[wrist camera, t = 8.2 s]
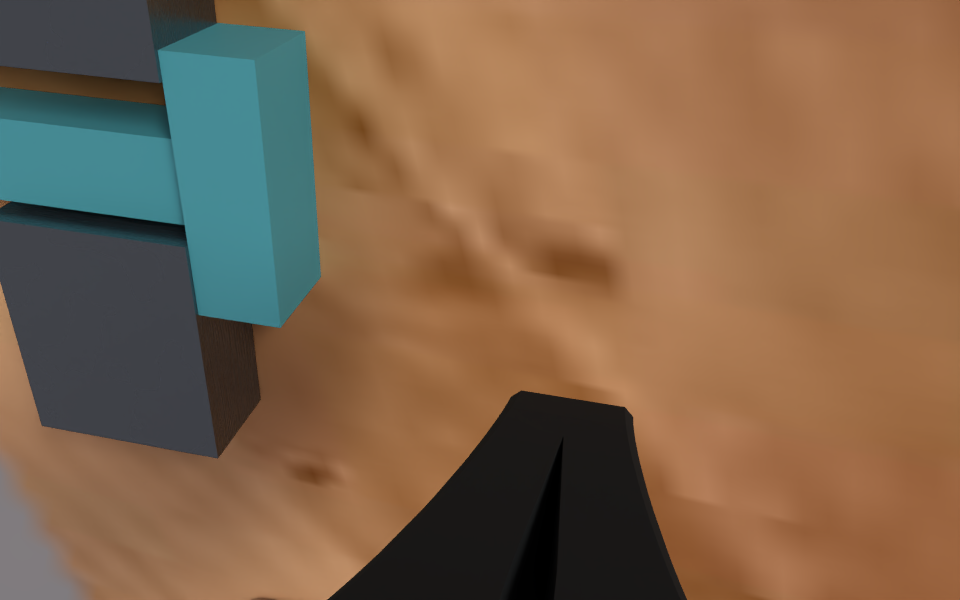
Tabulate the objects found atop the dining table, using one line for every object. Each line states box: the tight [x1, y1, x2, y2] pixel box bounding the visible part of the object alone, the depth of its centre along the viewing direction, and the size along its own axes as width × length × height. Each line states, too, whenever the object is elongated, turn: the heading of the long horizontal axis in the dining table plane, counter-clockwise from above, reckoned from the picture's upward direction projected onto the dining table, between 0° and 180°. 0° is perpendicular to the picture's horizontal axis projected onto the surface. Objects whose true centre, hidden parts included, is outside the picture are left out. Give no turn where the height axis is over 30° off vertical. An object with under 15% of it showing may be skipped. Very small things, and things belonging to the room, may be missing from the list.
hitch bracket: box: [0, 0, 260, 458], centre depth 19 cm, size 16×5×2 cm, turn 178°
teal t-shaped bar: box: [0, 23, 321, 328], centre depth 19 cm, size 6×9×2 cm, turn 88°
